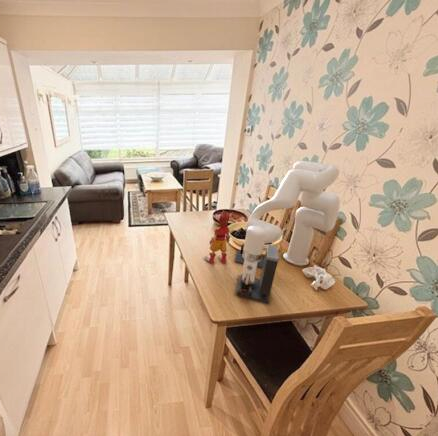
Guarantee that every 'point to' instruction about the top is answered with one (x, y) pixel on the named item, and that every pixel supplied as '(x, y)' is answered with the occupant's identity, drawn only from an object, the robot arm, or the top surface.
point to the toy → (220, 238)
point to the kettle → (242, 249)
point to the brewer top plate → (241, 260)
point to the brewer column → (267, 270)
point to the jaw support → (319, 277)
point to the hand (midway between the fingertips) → (244, 288)
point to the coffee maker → (252, 292)
